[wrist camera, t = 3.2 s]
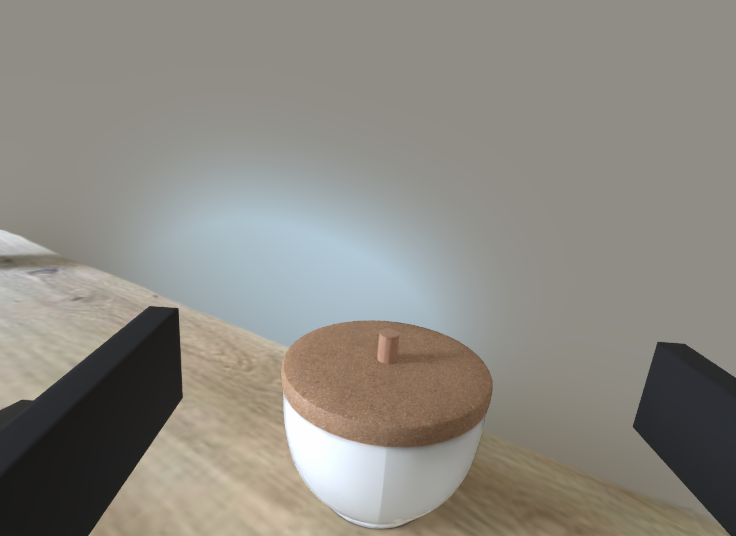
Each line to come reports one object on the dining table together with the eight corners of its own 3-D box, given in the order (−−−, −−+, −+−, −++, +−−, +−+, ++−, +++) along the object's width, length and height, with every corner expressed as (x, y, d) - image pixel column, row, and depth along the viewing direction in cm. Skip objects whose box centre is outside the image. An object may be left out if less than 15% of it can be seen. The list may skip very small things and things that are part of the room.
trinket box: (454, 430, 31) (473, 301, 28) (493, 580, 20) (529, 401, 18) (298, 418, 31) (301, 289, 28) (257, 563, 20) (256, 381, 18)
